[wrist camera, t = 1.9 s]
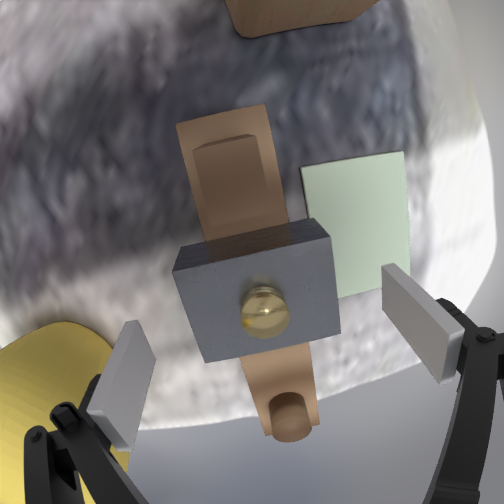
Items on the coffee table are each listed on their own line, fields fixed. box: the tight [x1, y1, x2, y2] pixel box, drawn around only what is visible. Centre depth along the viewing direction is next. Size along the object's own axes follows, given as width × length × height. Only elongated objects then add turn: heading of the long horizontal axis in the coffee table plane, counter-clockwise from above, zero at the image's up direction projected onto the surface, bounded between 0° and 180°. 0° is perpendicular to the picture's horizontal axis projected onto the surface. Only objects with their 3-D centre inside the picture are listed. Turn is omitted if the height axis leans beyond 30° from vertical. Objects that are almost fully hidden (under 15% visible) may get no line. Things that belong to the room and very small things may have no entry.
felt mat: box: [300, 151, 410, 298], centre depth 27 cm, size 12×9×1 cm
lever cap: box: [172, 218, 341, 363], centre depth 18 cm, size 6×8×5 cm
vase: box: [0, 321, 129, 504], centre depth 17 cm, size 16×16×28 cm
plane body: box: [175, 104, 320, 442], centre depth 22 cm, size 26×5×13 cm, turn 12°
